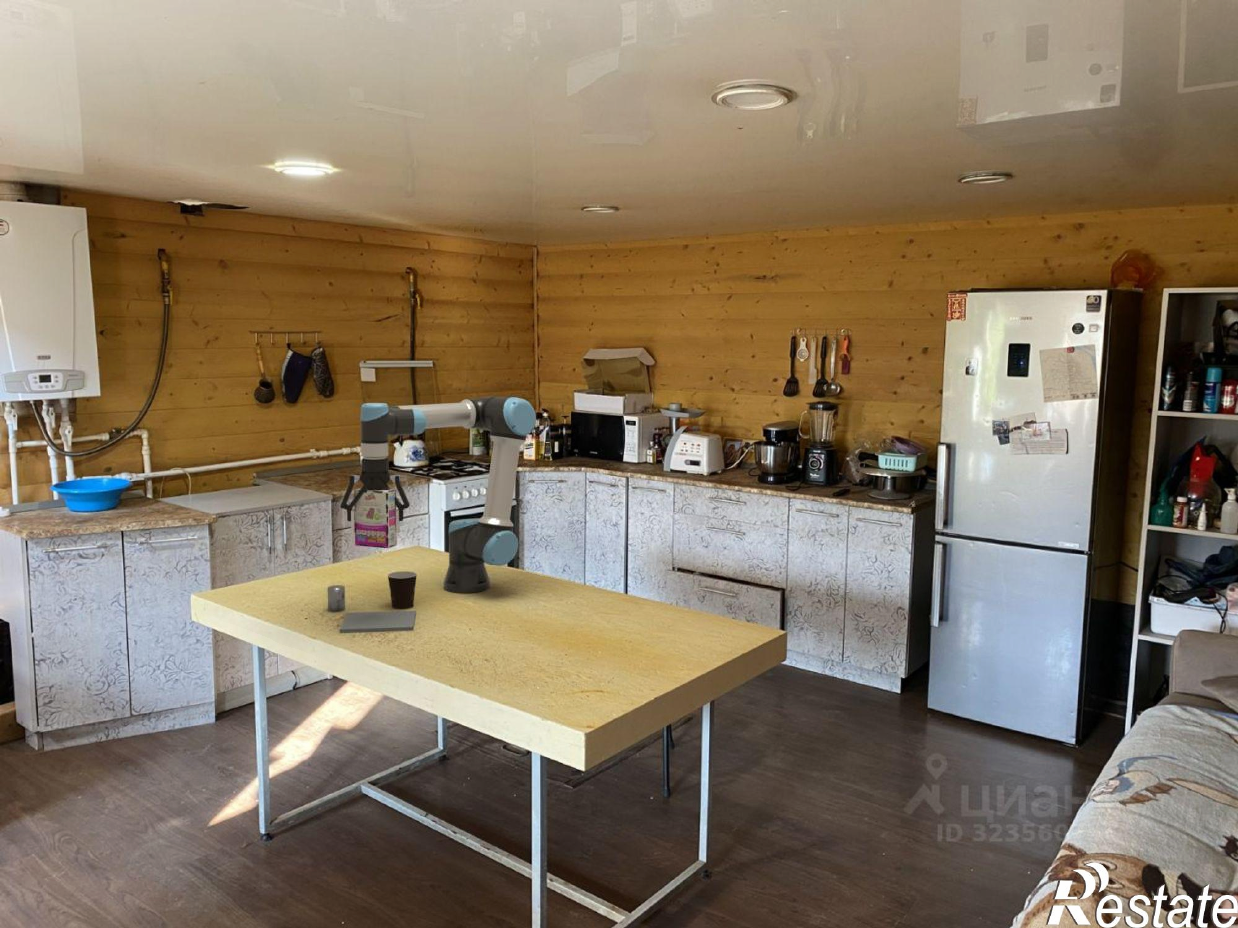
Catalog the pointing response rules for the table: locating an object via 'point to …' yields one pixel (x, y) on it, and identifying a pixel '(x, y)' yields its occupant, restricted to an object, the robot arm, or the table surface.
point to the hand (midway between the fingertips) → (375, 532)
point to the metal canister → (336, 598)
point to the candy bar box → (375, 519)
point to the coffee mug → (402, 589)
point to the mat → (378, 621)
